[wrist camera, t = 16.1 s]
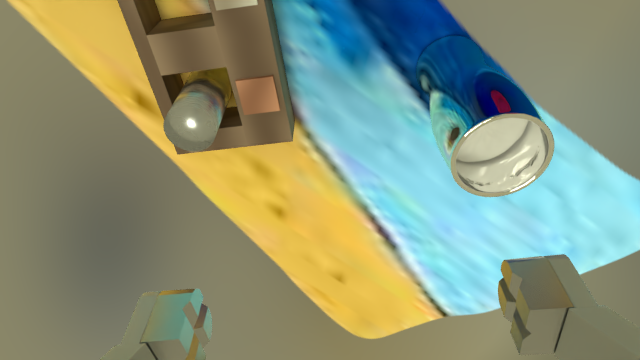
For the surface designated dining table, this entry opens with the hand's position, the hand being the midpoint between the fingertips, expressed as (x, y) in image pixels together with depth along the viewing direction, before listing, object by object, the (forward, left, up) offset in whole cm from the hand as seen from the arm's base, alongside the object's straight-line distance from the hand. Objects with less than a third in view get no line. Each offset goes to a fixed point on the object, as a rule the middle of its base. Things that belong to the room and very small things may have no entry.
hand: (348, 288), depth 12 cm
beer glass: (-10, +8, -31) cm, 34 cm away
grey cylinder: (+12, +6, -31) cm, 34 cm away
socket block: (+10, +2, -31) cm, 33 cm away
